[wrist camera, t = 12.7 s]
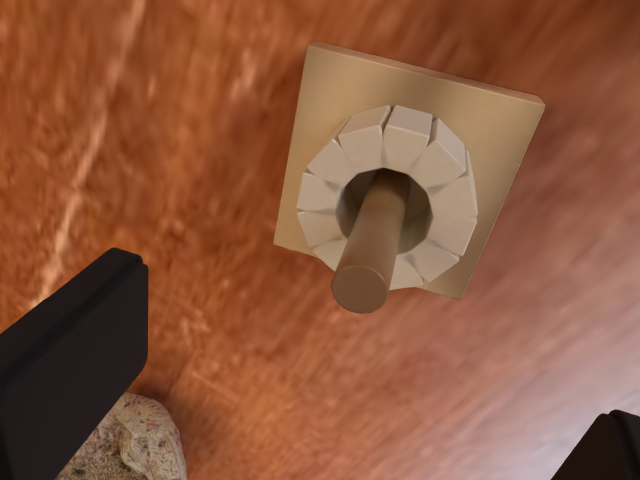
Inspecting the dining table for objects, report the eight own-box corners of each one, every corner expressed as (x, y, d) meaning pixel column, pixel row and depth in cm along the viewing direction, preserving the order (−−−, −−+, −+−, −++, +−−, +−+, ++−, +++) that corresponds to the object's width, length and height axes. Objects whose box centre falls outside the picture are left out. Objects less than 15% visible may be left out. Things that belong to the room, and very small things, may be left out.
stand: (540, 96, 19) (606, 188, 11) (460, 283, 23) (464, 448, 15) (316, 40, 20) (220, 84, 12) (282, 230, 24) (196, 358, 16)
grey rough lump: (139, 435, 40) (222, 511, 35) (55, 503, 35) (137, 603, 30) (101, 335, 34) (196, 409, 28) (-6, 403, 29) (83, 506, 24)
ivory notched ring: (497, 130, 18) (505, 155, 16) (443, 269, 22) (441, 309, 19) (333, 87, 19) (315, 105, 16) (304, 228, 22) (285, 261, 20)
